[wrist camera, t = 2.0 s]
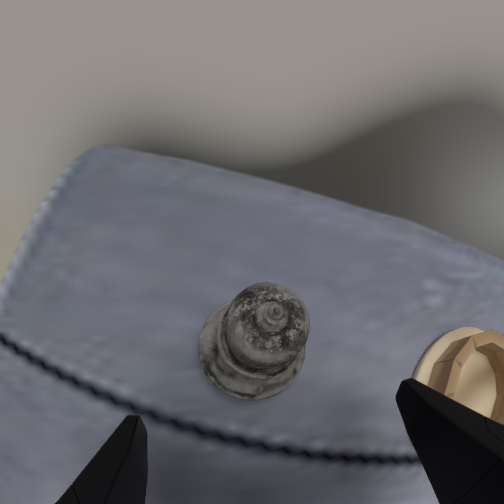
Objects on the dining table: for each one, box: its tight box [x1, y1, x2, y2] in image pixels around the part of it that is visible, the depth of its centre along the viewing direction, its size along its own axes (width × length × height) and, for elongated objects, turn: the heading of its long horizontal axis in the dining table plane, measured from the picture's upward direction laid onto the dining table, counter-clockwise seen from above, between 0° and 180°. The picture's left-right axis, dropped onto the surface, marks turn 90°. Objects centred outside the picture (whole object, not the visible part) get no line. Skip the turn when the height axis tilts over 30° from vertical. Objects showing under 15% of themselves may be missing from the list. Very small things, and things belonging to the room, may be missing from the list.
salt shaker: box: [198, 282, 310, 400], centre depth 14 cm, size 6×6×12 cm
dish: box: [412, 327, 504, 425], centre depth 16 cm, size 12×12×4 cm
